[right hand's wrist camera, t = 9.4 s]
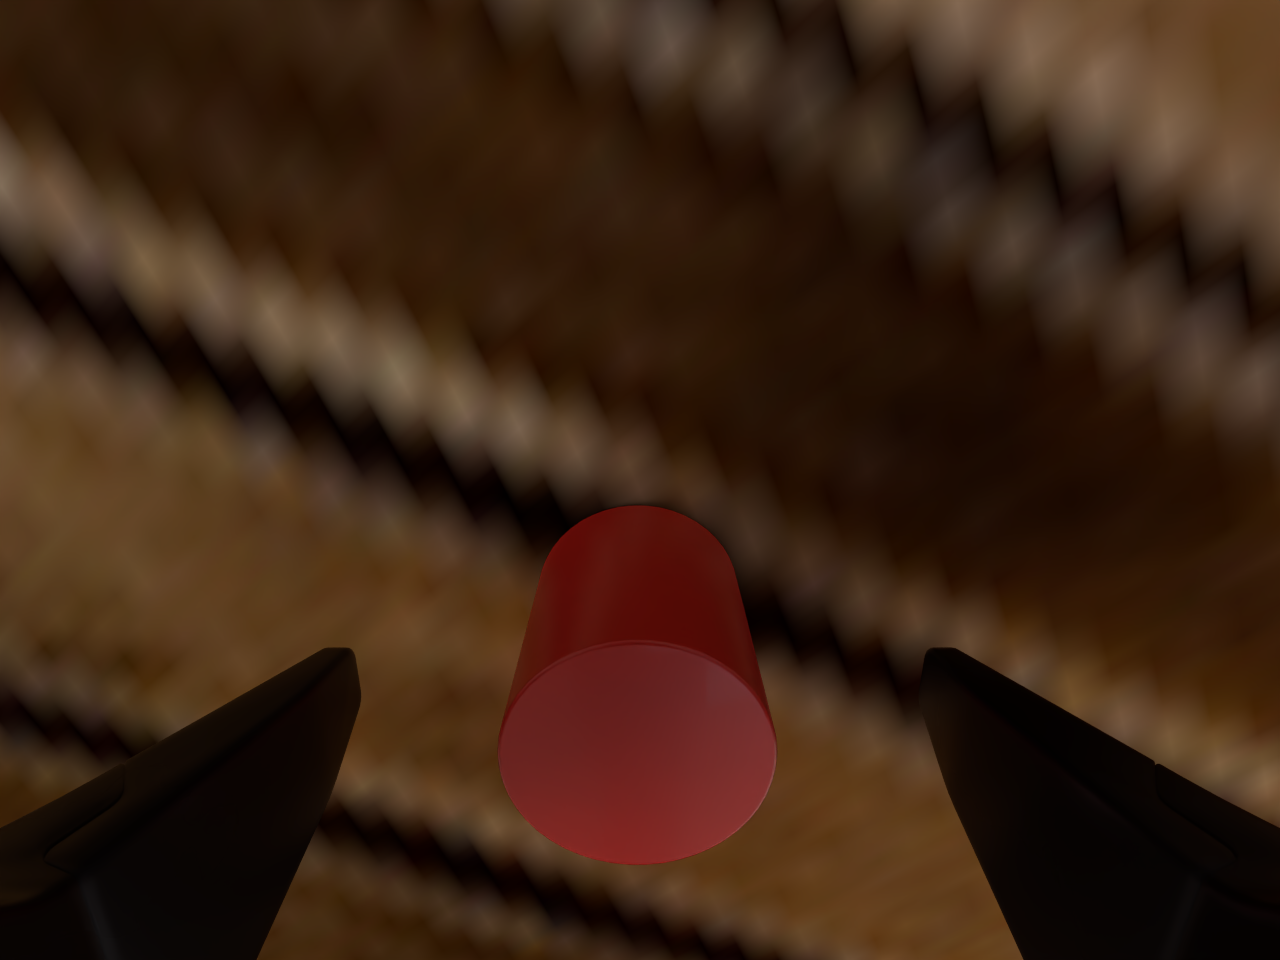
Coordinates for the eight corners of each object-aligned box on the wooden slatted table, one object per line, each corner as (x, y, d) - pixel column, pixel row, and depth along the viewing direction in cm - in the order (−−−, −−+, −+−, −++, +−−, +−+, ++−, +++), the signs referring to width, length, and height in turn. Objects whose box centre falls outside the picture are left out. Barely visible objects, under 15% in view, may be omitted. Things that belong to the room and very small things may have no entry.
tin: (704, 477, 13) (733, 605, 9) (760, 648, 14) (808, 829, 10) (508, 539, 13) (452, 687, 9) (579, 699, 15) (557, 892, 11)
